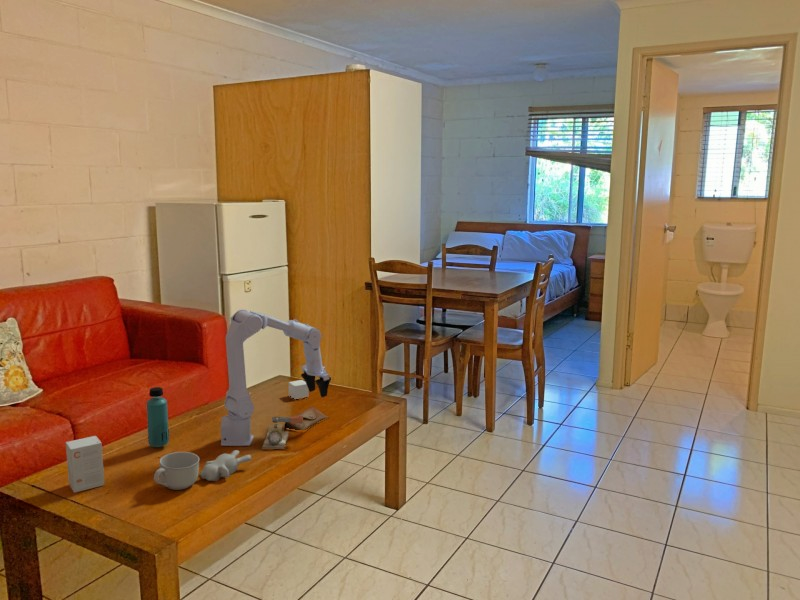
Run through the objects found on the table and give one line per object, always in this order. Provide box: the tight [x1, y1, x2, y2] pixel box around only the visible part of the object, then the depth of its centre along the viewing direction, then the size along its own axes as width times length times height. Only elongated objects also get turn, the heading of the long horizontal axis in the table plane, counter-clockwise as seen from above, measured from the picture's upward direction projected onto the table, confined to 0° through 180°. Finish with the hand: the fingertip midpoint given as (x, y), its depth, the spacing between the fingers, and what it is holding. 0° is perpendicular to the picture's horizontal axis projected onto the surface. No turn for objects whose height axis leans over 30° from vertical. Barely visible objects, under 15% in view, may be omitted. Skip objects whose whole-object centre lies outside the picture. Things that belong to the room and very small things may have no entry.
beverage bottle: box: [145, 386, 170, 448], centre depth 204 cm, size 6×7×20 cm
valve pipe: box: [267, 423, 284, 446], centre depth 213 cm, size 11×4×6 cm, turn 3°
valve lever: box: [271, 415, 303, 424], centre depth 212 cm, size 10×2×2 cm, turn 93°
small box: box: [65, 435, 105, 494], centre depth 179 cm, size 8×6×13 cm
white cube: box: [288, 379, 310, 400], centre depth 257 cm, size 6×6×6 cm
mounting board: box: [261, 430, 290, 450], centre depth 213 cm, size 13×7×1 cm, turn 3°
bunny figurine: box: [199, 449, 253, 482], centre depth 190 cm, size 10×5×15 cm
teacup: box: [153, 451, 200, 491], centre depth 180 cm, size 14×11×8 cm
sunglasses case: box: [283, 406, 329, 430], centre depth 230 cm, size 18×7×7 cm, turn 155°
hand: (318, 393), depth 231 cm, fingers open, 7 cm apart
